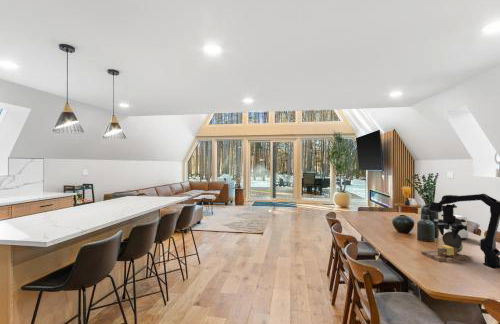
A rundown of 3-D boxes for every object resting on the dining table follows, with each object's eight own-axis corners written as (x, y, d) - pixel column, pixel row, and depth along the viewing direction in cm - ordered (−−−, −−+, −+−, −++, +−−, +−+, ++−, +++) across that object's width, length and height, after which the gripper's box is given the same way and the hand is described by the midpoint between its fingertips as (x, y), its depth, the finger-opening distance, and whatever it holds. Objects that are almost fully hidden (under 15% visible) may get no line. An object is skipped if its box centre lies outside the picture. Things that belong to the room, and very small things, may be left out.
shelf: (466, 259, 167) (466, 249, 168) (438, 261, 165) (438, 250, 165) (447, 252, 181) (447, 242, 181) (421, 253, 179) (421, 243, 179)
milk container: (459, 235, 227) (459, 214, 227) (473, 240, 210) (473, 218, 210) (438, 234, 230) (437, 213, 230) (450, 239, 213) (450, 217, 213)
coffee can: (462, 239, 182) (461, 232, 173) (463, 254, 178) (462, 248, 168) (443, 237, 188) (442, 230, 179) (444, 251, 184) (442, 245, 175)
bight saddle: (454, 255, 167) (454, 247, 167) (448, 255, 167) (448, 248, 167) (446, 252, 173) (446, 245, 173) (441, 252, 172) (441, 245, 172)
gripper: (472, 216, 168) (472, 240, 168) (446, 211, 187) (447, 232, 186) (456, 216, 167) (456, 240, 166) (432, 211, 185) (433, 233, 185)
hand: (448, 236), depth 176 cm, fingers open, 9 cm apart
